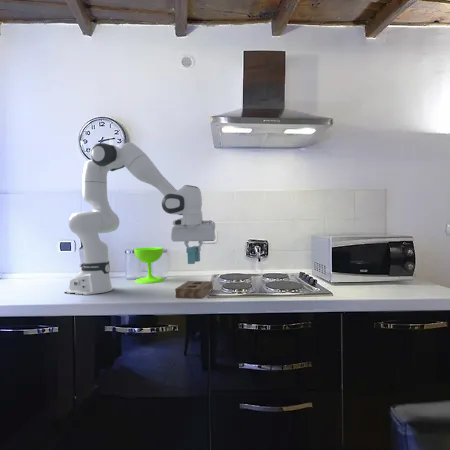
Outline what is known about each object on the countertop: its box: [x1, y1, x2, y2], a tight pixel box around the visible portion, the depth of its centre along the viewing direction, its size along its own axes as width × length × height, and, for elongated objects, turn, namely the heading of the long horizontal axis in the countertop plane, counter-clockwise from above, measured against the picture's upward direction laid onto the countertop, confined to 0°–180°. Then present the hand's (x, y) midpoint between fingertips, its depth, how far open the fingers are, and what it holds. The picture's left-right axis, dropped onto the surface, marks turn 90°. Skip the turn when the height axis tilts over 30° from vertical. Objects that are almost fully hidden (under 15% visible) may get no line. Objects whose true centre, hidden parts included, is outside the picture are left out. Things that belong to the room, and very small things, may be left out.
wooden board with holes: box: [174, 280, 213, 299], centre depth 162 cm, size 12×18×4 cm, turn 168°
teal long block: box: [186, 245, 202, 265], centre depth 162 cm, size 3×12×7 cm, turn 168°
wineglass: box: [133, 246, 165, 285], centre depth 198 cm, size 16×16×18 cm
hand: (193, 251), depth 162 cm, fingers closed on teal long block, 3 cm apart
